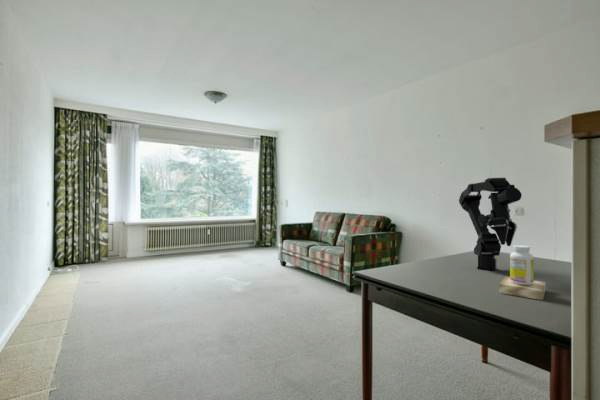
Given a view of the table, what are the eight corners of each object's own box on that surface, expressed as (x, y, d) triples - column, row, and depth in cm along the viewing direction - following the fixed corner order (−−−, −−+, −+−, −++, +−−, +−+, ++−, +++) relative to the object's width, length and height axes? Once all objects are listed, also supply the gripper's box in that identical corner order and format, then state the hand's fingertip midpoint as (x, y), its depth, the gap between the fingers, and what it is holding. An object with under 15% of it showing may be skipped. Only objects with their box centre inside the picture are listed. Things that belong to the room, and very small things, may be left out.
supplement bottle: (524, 280, 113) (524, 244, 113) (538, 285, 107) (538, 247, 106) (505, 280, 113) (505, 244, 113) (517, 285, 107) (517, 248, 106)
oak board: (499, 292, 109) (499, 284, 109) (504, 284, 118) (504, 276, 118) (543, 300, 101) (543, 290, 101) (545, 290, 111) (545, 282, 110)
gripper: (485, 212, 142) (490, 247, 139) (471, 206, 129) (476, 245, 126) (514, 209, 135) (520, 246, 131) (502, 202, 122) (509, 243, 118)
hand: (506, 245), depth 127 cm, fingers open, 9 cm apart
